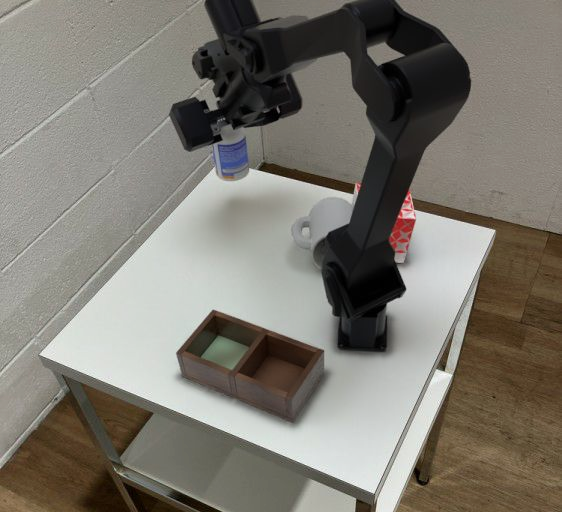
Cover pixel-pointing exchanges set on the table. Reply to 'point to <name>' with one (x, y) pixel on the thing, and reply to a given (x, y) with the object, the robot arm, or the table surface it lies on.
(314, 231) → the cup
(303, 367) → the divided box
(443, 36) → the robot arm
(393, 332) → the table surface
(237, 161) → the pill bottle
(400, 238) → the red patterned cube
